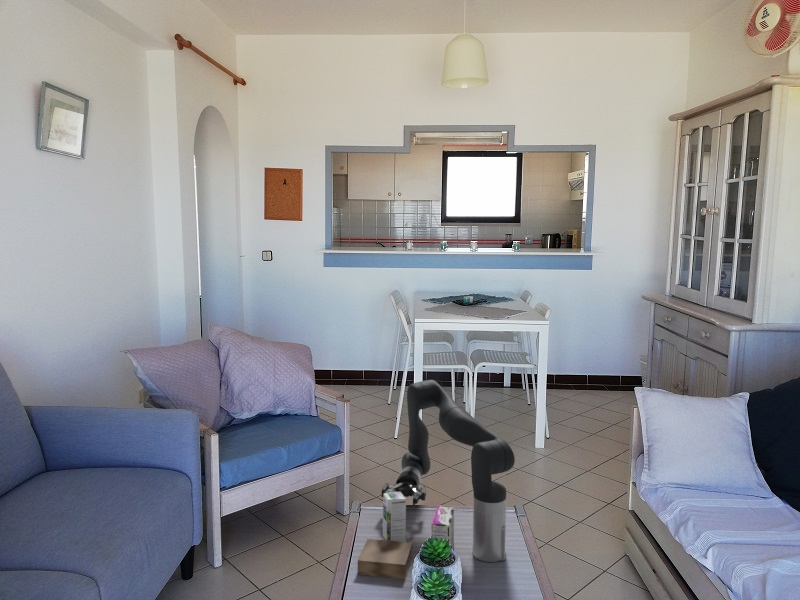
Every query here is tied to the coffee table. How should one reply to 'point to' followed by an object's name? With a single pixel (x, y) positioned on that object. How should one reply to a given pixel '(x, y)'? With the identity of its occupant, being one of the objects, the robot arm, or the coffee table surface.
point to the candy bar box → (444, 524)
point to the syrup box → (394, 516)
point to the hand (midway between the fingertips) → (400, 501)
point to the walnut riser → (385, 558)
